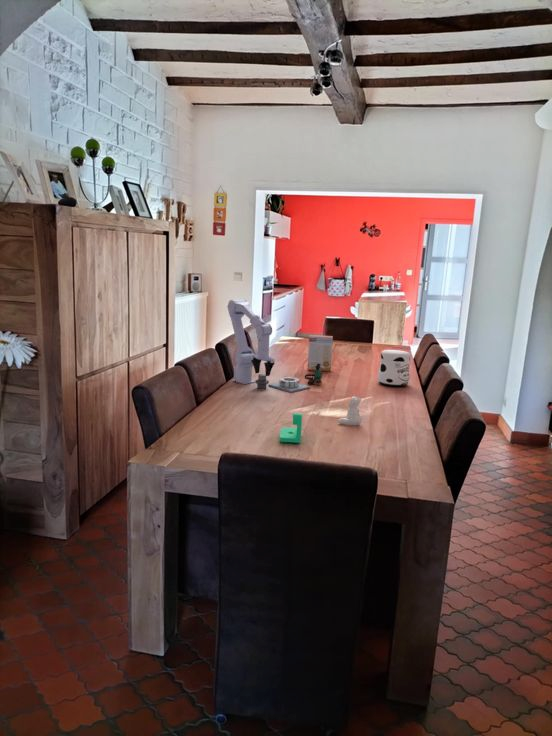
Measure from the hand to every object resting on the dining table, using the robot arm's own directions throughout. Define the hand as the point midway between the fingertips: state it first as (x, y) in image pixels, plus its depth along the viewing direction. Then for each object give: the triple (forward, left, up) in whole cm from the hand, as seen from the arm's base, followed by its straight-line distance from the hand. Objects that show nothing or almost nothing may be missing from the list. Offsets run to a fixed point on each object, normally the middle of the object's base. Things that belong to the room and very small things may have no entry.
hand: (262, 374), depth 274 cm
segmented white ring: (+7, +13, -7) cm, 16 cm away
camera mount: (+60, -44, -8) cm, 75 cm away
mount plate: (+7, +13, -7) cm, 16 cm away
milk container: (+37, +65, -8) cm, 75 cm away
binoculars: (+9, +30, -8) cm, 32 cm away
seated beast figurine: (+64, -10, -8) cm, 65 cm away
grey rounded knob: (0, 0, -7) cm, 7 cm away
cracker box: (-10, +58, -8) cm, 59 cm away
